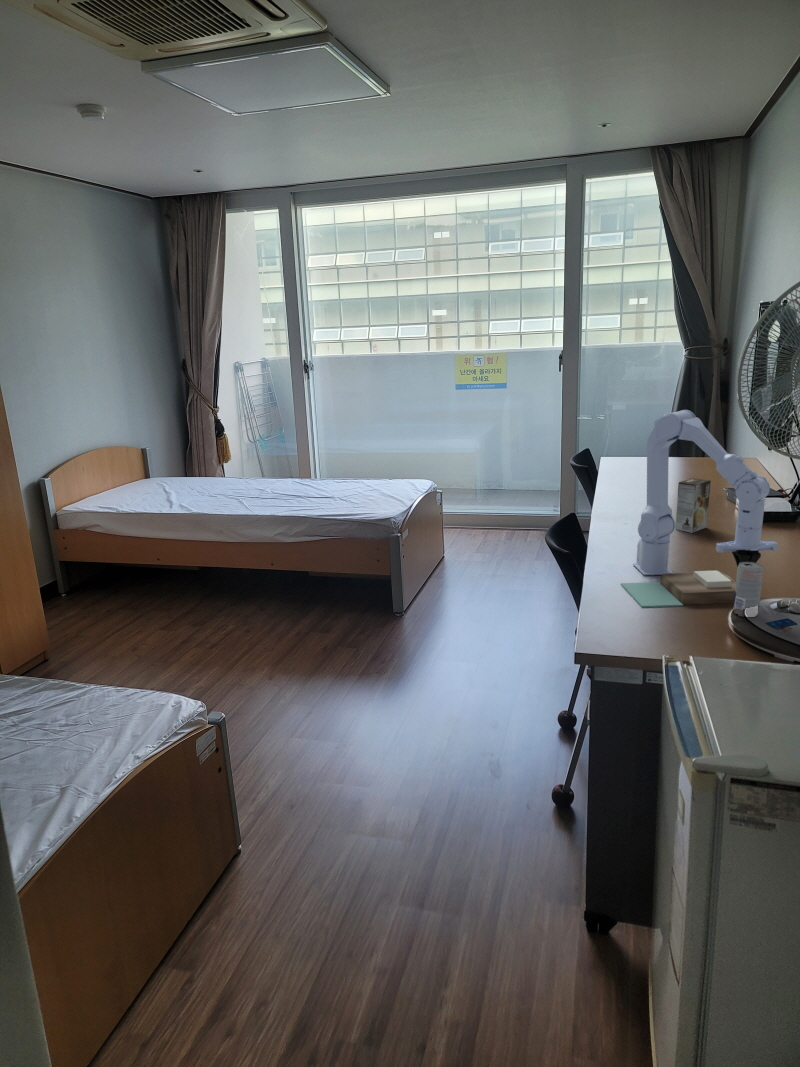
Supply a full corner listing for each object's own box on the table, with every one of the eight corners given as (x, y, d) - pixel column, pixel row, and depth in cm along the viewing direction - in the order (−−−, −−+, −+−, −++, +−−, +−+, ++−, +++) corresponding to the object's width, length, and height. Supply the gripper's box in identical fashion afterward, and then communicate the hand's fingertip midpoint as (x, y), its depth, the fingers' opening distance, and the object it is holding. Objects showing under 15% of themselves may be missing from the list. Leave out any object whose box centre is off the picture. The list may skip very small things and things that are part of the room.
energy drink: (750, 609, 172) (756, 561, 169) (762, 617, 167) (768, 568, 163) (728, 609, 172) (733, 562, 168) (739, 618, 167) (745, 569, 163)
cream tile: (693, 576, 186) (693, 571, 185) (716, 575, 186) (716, 570, 185) (706, 587, 178) (707, 581, 178) (730, 586, 178) (731, 581, 178)
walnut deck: (660, 584, 189) (661, 573, 188) (721, 582, 189) (722, 571, 189) (682, 604, 176) (683, 592, 175) (747, 602, 176) (748, 590, 175)
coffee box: (689, 524, 244) (693, 477, 239) (707, 527, 239) (711, 480, 235) (674, 529, 238) (678, 481, 234) (692, 533, 234) (696, 484, 229)
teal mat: (620, 584, 190) (620, 583, 190) (658, 583, 190) (658, 582, 190) (641, 607, 175) (641, 605, 175) (682, 606, 175) (682, 604, 175)
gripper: (727, 531, 174) (721, 584, 178) (786, 529, 174) (780, 582, 178) (714, 523, 181) (709, 575, 185) (771, 522, 181) (765, 573, 185)
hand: (743, 578), depth 182 cm, fingers closed
